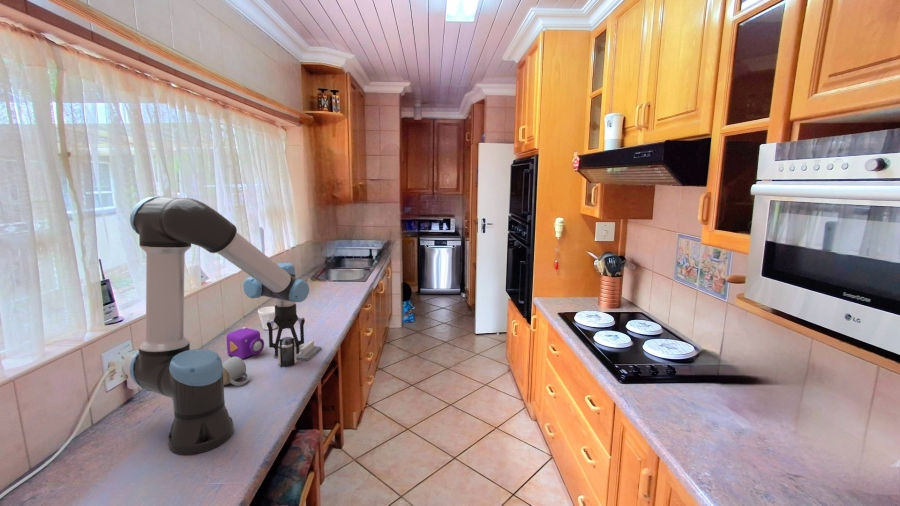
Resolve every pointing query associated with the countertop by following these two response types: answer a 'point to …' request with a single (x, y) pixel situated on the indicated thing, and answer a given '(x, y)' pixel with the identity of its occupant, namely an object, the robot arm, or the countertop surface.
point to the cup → (267, 316)
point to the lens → (287, 351)
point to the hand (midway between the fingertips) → (287, 362)
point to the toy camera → (244, 343)
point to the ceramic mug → (234, 371)
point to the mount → (306, 351)
